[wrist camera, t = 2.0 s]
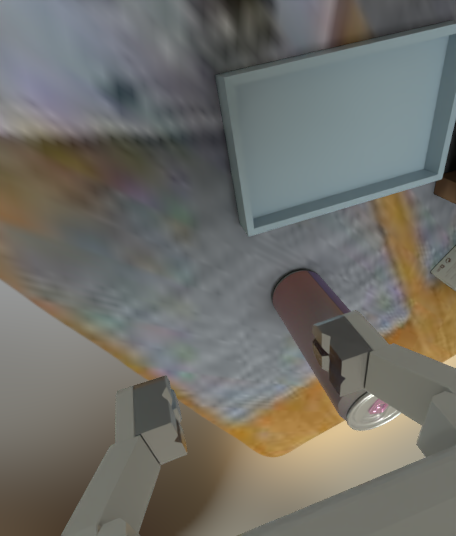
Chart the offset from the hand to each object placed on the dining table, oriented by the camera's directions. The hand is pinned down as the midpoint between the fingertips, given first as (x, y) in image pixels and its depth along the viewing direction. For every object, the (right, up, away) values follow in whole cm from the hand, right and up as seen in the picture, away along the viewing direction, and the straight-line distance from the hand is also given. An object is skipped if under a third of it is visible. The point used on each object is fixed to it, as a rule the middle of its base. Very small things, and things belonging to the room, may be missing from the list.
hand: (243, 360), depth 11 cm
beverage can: (+7, +1, +26) cm, 27 cm away
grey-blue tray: (+9, +15, +17) cm, 24 cm away
